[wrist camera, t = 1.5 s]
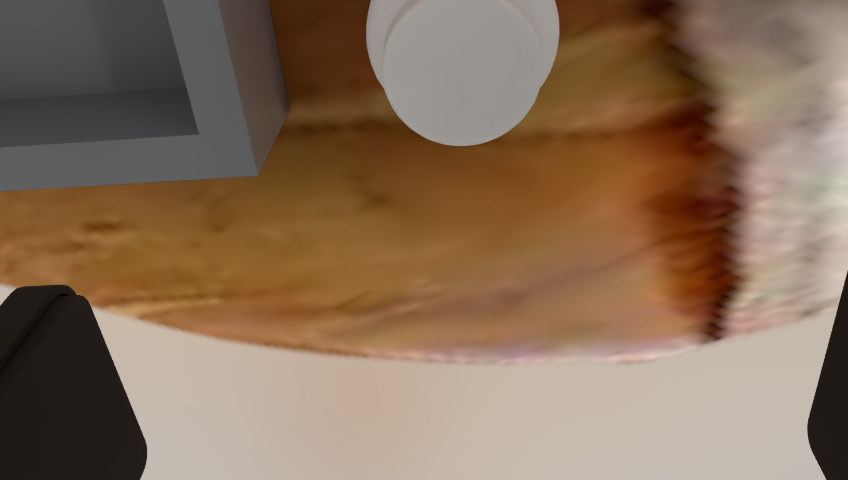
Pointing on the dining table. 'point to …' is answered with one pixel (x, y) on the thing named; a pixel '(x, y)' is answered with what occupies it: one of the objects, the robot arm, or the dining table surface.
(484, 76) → the supplement bottle
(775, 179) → the dining table surface
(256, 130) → the box
